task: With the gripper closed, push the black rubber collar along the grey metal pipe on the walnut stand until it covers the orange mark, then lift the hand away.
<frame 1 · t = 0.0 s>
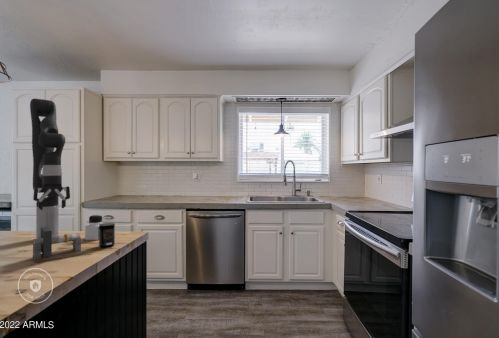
hand: (52, 208, 135), 17 cm above the counter, tool pointing down, fingers open, 8 cm apart
collar: (46, 241, 116), point 7 cm above the counter, slide at 0.0 cm
medicine bottle: (95, 238, 149), on the counter
supplement container: (106, 246, 135), on the counter
pipe stand: (57, 256, 119), on the counter
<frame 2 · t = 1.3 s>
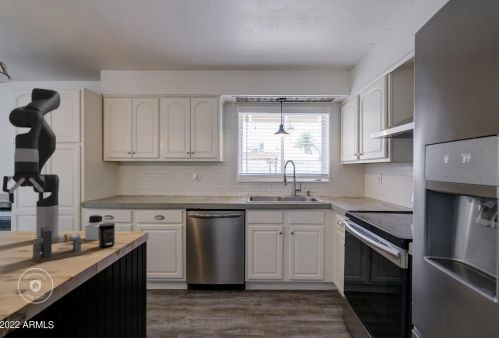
hand: (26, 202, 112), 23 cm above the counter, tool pointing down, fingers open, 8 cm apart
nothing on the counter moved.
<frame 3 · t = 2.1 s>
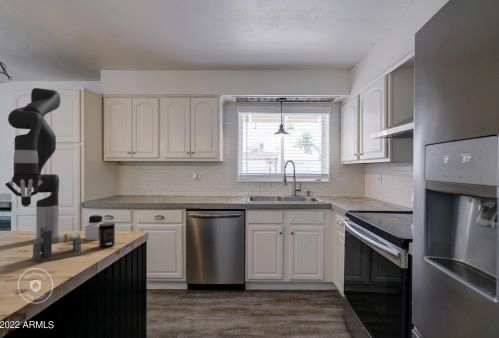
hand: (25, 206, 112), 22 cm above the counter, tool pointing down, fingers closed
nothing on the counter moved.
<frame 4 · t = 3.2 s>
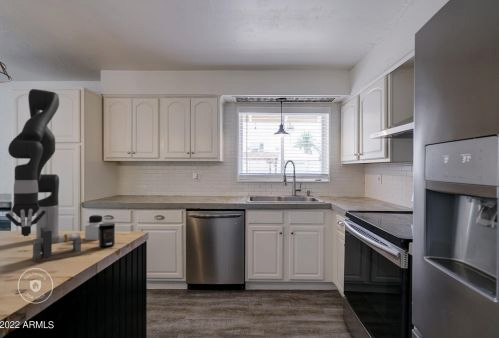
hand: (25, 235, 112), 10 cm above the counter, tool pointing down, fingers closed
nothing on the counter moved.
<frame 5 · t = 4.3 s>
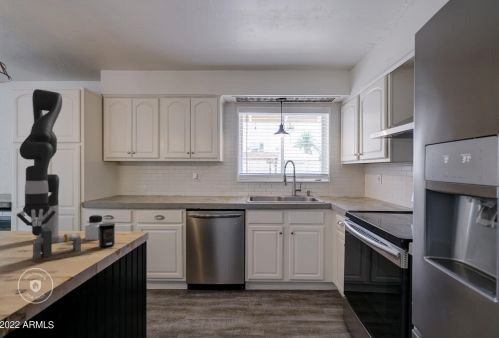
hand: (36, 235, 114), 10 cm above the counter, tool pointing down, fingers closed
collar: (46, 241, 116), point 7 cm above the counter, slide at 0.0 cm, touching gripper
everything else where it was.
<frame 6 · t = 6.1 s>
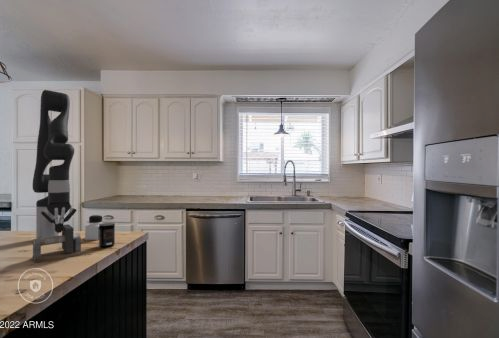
hand: (58, 232, 119), 10 cm above the counter, tool pointing down, fingers closed
collar: (67, 238, 121), point 7 cm above the counter, slide at 7.5 cm, touching gripper
everything else where it was.
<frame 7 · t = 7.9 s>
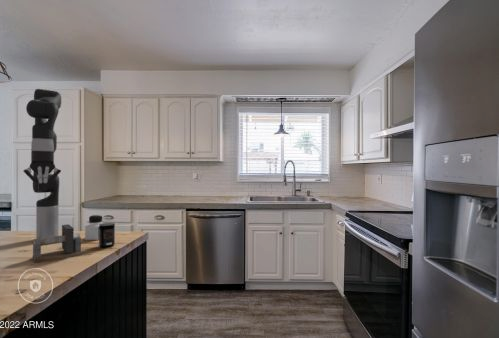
hand: (42, 192, 117), 27 cm above the counter, tool pointing down, fingers closed
collar: (67, 238, 121), point 7 cm above the counter, slide at 7.5 cm
everything else where it was.
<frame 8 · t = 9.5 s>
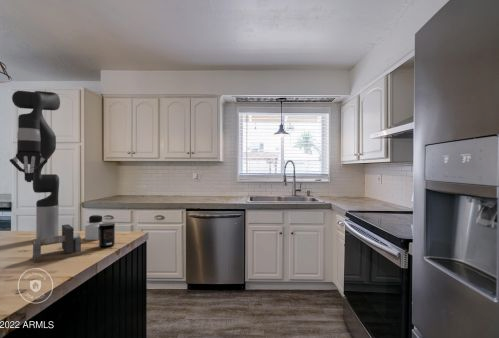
hand: (28, 182, 118), 31 cm above the counter, tool pointing down, fingers closed
nothing on the counter moved.
at the end: collar slide at 7.5 cm; supplement container moved 0.2 cm from its start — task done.
